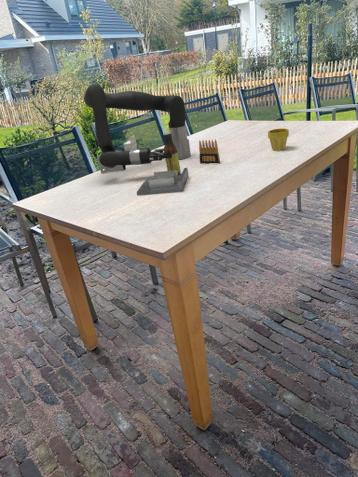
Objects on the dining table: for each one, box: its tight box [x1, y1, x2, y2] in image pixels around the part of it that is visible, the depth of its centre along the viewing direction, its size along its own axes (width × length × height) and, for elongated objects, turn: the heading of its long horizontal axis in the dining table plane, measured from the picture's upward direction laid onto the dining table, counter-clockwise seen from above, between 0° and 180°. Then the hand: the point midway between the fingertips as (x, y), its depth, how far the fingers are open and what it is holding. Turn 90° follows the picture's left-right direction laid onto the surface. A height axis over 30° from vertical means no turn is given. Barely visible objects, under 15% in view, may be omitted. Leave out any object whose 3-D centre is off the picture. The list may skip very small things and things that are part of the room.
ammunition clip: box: [198, 139, 221, 165], centre depth 186 cm, size 11×2×12 cm, turn 59°
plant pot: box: [267, 127, 290, 151], centre depth 192 cm, size 10×10×10 cm
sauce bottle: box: [162, 132, 182, 175], centre depth 174 cm, size 7×6×20 cm
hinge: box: [96, 150, 127, 174], centre depth 201 cm, size 14×5×10 cm, turn 92°
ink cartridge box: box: [123, 134, 138, 151], centre depth 213 cm, size 9×5×15 cm, turn 168°
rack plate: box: [136, 167, 190, 196], centre depth 164 cm, size 20×20×5 cm
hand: (173, 153), depth 174 cm, fingers open, 8 cm apart
